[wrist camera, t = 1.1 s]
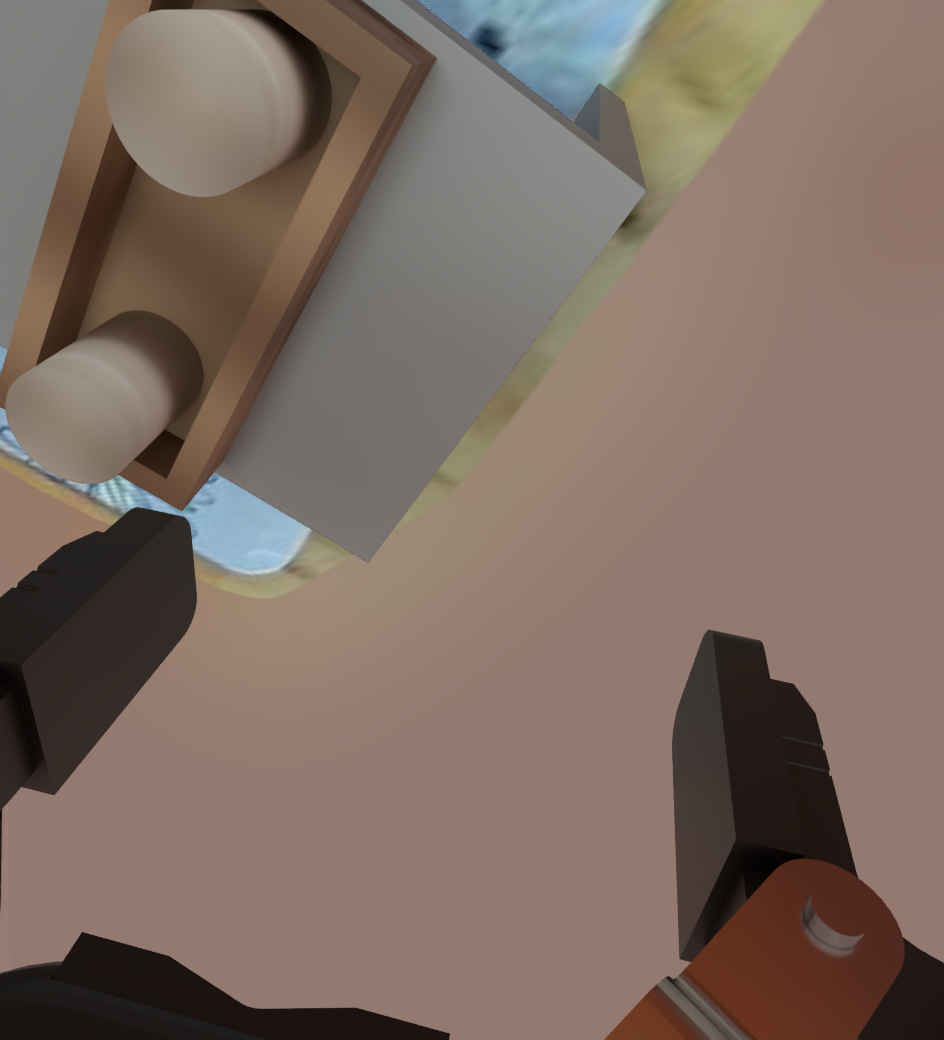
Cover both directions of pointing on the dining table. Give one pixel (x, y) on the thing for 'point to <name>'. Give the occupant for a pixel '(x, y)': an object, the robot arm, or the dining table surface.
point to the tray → (195, 226)
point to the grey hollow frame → (370, 263)
